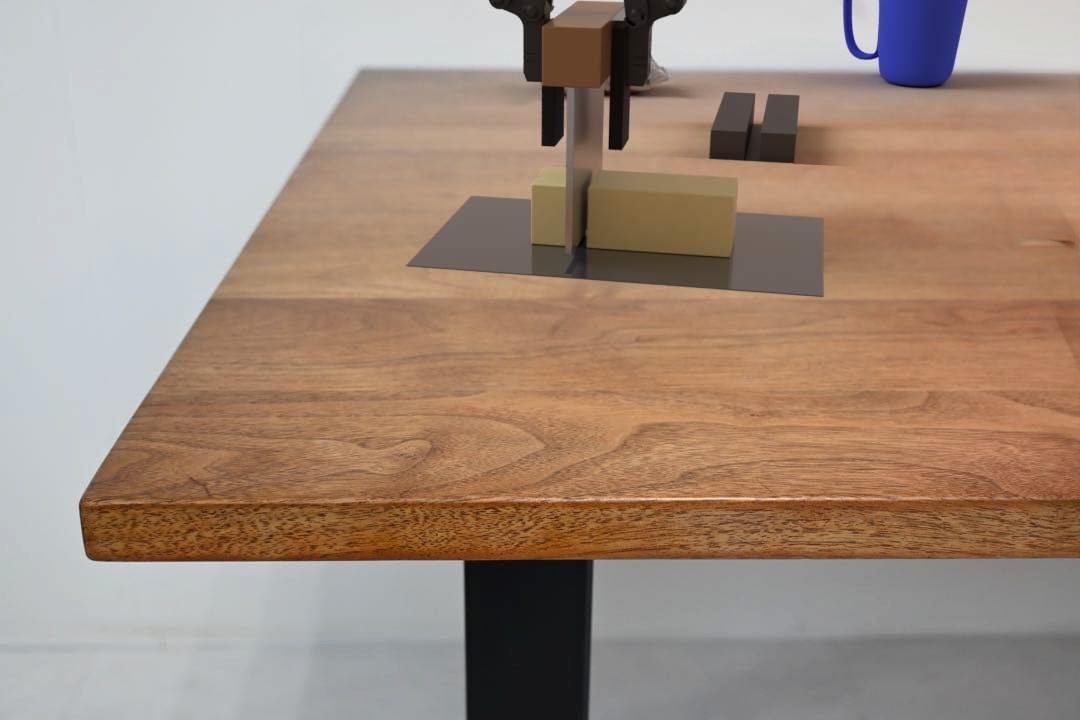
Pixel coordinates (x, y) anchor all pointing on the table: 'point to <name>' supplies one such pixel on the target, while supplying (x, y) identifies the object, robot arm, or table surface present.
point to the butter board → (631, 253)
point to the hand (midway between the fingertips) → (585, 141)
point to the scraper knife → (580, 96)
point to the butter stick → (662, 213)
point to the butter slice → (548, 207)
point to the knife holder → (755, 129)
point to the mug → (913, 39)
